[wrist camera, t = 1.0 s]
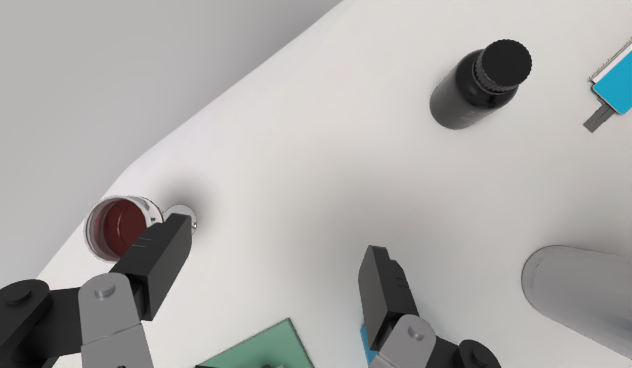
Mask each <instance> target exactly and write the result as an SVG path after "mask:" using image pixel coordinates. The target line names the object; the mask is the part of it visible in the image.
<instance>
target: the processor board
mask: <svg viewBox="0 0 632 368" xmlns="http://www.w3.org/2000/svg"><path fill="white" fill-rule="evenodd" d="M200 366H208V367H217V368H313V366H312V364H311V362H310V360H309V358H308V356H307V354H306V352H305V350H304V348H303V346H302V344H301V342H300V340H299V338H298V336H297V334H296V332H295V330H294V328H293V326H292V324H291V322H290V320H289V318H287V319H285V320H283V321H282V322H280V323H278V324H276V325H274V326H272V327H270V328H268V329H266V330H265V331H263V332H261V333H259V334H257V335H255V336H253V337H251V338H249V339H247V340H246V341H244V342H242V343H240V344H238V345H236V346H234V347H232V348H230V349H229V350H227V351H225V352H223V353H221V354H219V355H217V356H215V357H213V358H211V359H210V360H208V361H206V362H204V363H202V364H200ZM194 368H195V367H194Z"/></svg>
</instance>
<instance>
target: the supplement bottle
mask: <svg viewBox="0 0 632 368" xmlns="http://www.w3.org/2000/svg"><path fill="white" fill-rule="evenodd" d="M531 67H532V59H531V55H530V54H529V51H528V50H527V49H526V47H524V46H523V44H520V43H519V42H516V41H514V40H509V39H507V40H505V39H503V40H498V41H497V42H493V43H492V44H490V45H489V46H488V47H487V48H485V49H480V50H476V51H473V52H471V53H469V54H468V55H466V56H465V57H464V58H463V59H462V60H461V61H460V62H459V63H458V64H457V65H456V66H455V67H454V69H453V70H452V71H451V72H450V73H449V74H448V75H447V76H446V78H445V79H444V80H443V81H442V82H441V83H440V84H439V86H438V87H437V88H436V89H435V91H434V92H433V94H432V97H431V101H430V107H431V112H432V114H433V116H434V118H435V119H436V120H437V121H438V122H439V123H440V124H441V125H443V126H445V127H447V128H451V129H462V128H465V127H468V126H470V125H472V124H474V123H475V122H477V121H479V120H481V119H482V118H484V117H486V116H487V115H489V114H491V113H493V112H494V111H496V110H498V109H499V108H501V107H503V106H504V105H506V104H507V103H508V102H509V101H510V100H511V99H512V98H513V97H514V96H515V94H516V92H517V90H518V87H519V84H521V83H522V82H523V81H524V80H525V79H527V76H528V75H529V74H530V71H531Z"/></svg>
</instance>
